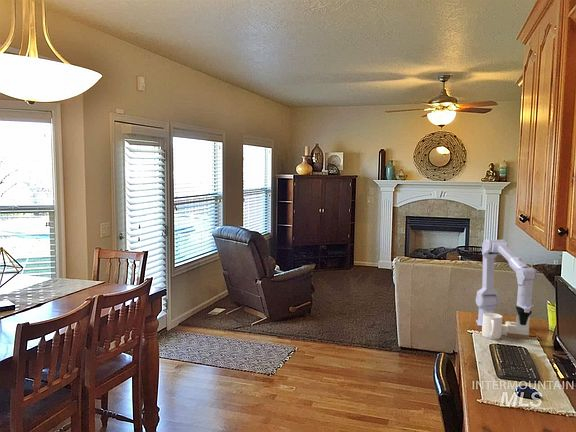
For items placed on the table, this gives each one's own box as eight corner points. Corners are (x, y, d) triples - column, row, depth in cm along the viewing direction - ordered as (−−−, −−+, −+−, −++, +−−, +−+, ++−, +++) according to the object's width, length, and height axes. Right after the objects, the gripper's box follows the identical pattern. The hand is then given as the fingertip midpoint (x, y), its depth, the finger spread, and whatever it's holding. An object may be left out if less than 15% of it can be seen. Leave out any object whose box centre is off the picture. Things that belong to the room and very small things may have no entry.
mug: (502, 343, 212) (503, 321, 211) (482, 340, 215) (484, 318, 214) (500, 335, 223) (501, 314, 223) (481, 332, 226) (482, 311, 225)
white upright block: (515, 328, 214) (516, 313, 214) (527, 330, 213) (528, 315, 212) (516, 330, 212) (517, 314, 212) (528, 331, 211) (529, 316, 211)
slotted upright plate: (483, 330, 230) (484, 319, 230) (525, 334, 226) (526, 323, 225) (485, 334, 224) (486, 323, 223) (528, 339, 219) (529, 327, 218)
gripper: (538, 299, 203) (535, 330, 204) (530, 291, 217) (528, 320, 218) (520, 297, 205) (518, 328, 206) (514, 290, 219) (512, 318, 220)
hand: (522, 324), depth 213 cm, fingers closed on white upright block, 2 cm apart
